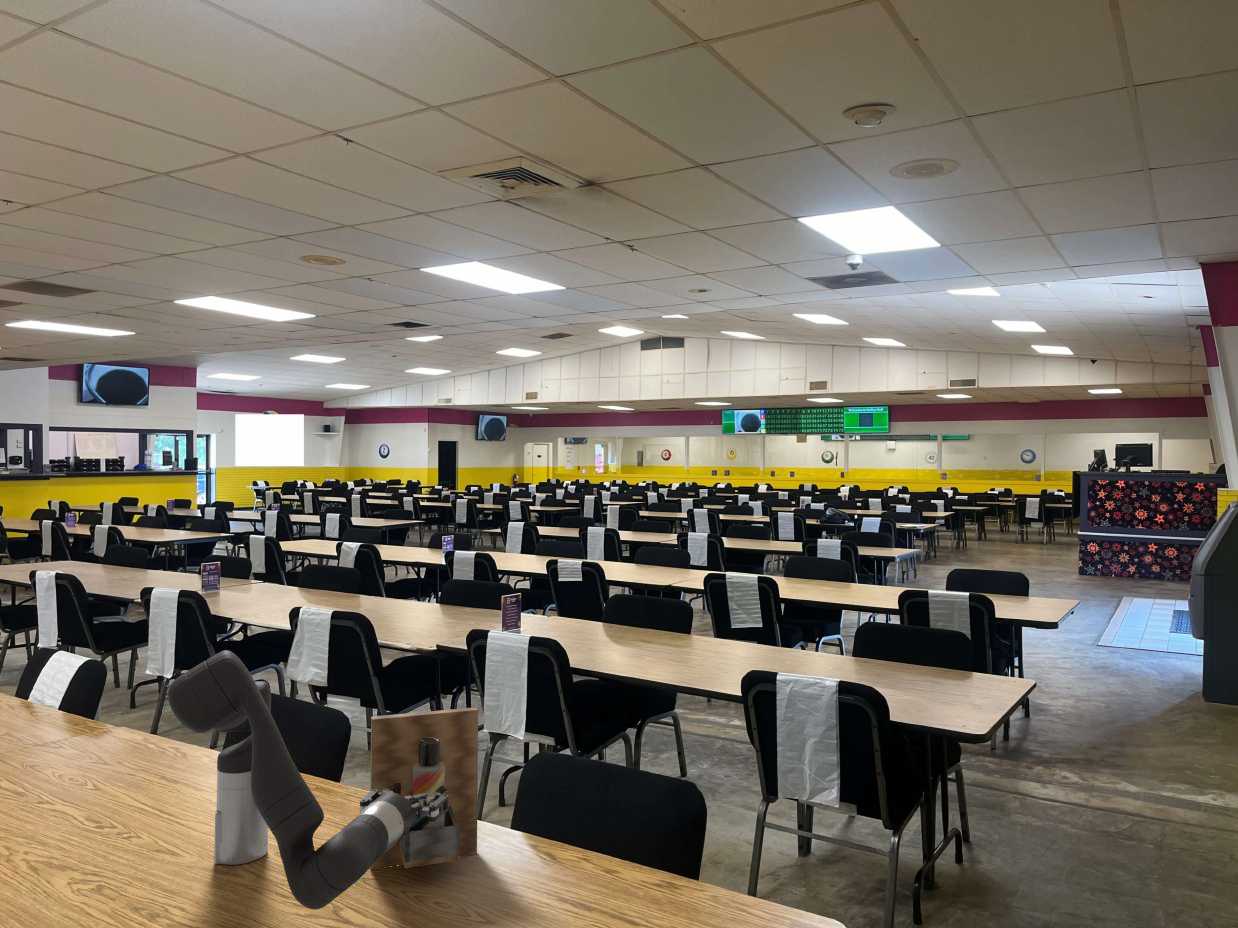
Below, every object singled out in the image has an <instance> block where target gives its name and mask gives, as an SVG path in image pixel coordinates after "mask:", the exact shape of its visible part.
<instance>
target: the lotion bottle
mask: <svg viewBox="0 0 1238 928" xmlns="http://www.w3.org/2000/svg"><path fill="white" fill-rule="evenodd" d="M439 758H440V741H439V740H438V739H436V738H422V739H421V741H420V742H419V763H417V764H416V765H415V766H414V768H413V796H414V795H418V794H421V793H426V794H432V793H434V792H435V791H436V790H437V789H438V788H439V787H440V786H445V766H444V763H442V762H439ZM419 802H420V803H421V805H422V799H421V800H419ZM430 803H433V799H430V801H429V805H430ZM440 827H444V814H443V815H442V816H441V817H439V818H438V819H437V820H436V821H434V822H430V821H429V816H422V817H421V818H419V819H416V820H414V822H413V831H418V830H426V829H433V828H440Z"/></svg>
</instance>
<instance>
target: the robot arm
mask: <svg viewBox="0 0 1238 928" xmlns="http://www.w3.org/2000/svg"><path fill="white" fill-rule="evenodd" d="M167 698H168V705H169V707H170V709H171V711H172V713H173V715H174V716H175V718H176V719H177V720H178V721H179V722H180V724H182V725H183V726H184V727H185V728H186V729H188V730H190V731H192V732H195V733H197V734H204V733H207V732H208V731H211V730H214V731H216V732H219V733H234V732H236V733H237V732H246V731H250V733H251V734H250V735H249V736H247V737H246V738H245V739H244V740H242V741H240V742H238V743H235V744H233V745H231V746H228V747H227V748H224V749H223V750H221V751H220V752H219V753H218V755H217V759H216V810H215V813H214V850H213V851H214V857H213V858H214V862H213V863H214V865H229V866H231V865H242V864H248V863H252V862H255V861H257V860H259V859H261V858H263V857H264V856H266V854H267V853H268V850H269V849H268V847H269V845H268V843H269V830H270V832H271V834H272V836H273V837H274V838H275V840H276V842H277V847H278V851H279V855H280V859H281V861H282V865H283V870H284V873H285V877H286V881H287V884H288V888H289V890H290V891H291V895H292V896H293V898H295V900H296V901H297V902H298V903H299V904H300V905H302V906H303V907H305V908H307V909H309V910H320V909H322V908H325V907H326V906H327V905H328V906H329V904H330V903H332V902H333V901H334V900H336V899H337V898H338V897H339V896H341V895H342V894H343V893H344V892H346V891H347V890H348V889H349V888H350V887H352V886H353V885H354V884H355V883H356V882H358V881H359V880H360V879H361V878H362V877H364V875H366V873H367V872H368V871H369V869H370V866H371V865H372V864H373V863H374V862H375V861H376V860H377V859H378V858H379V857H380V856H381V855H382V854H384V853H386V852H387V851H388V850H390V849H391V848H392V847H393V846H394V845H395V844H396V843H397V842H398V841H399V840H400V839H401V838H402V837H403V836H404V835H405V834H406V833H407V832H408V831H409V830H410V828H411V826H412V824H413V822H414V820H416V819H419V818H421V817H422V816H429V821H430V822H434V821H436V820H437V819H438V818H439V817H441V816H442V815H443V814H444V813H445V812H446V811H447V810H448V805H449V795H447V789H446V787H445V786H440V787H439V788H438V789H437V790H436V791H435V792H434V793H432V794H426V793H421V794H418V795H414V796H411V795H409V796H405V797H404V796H402V795H400V794H401V783H396V784H394V785H393V786H391V787H389V788H388V789H383V790H382V792H378V790H377V789H374V790H371V791H369V792H368V793H367V794H366V795H365V796H364V797H362V798H361V799H360V800H359V813H358V814H357V815H356V816H355V817H354V818H353V819H352V820H351V821H350V822H348V823H347V824H346V825H345V826H344V827H343V828H341V830H340V831H339V832H338V833H335V835H333V836H332V837H330V838H329V839H328V840H327V841H325V842H324V843H322V844H321V846H319V847H318V848H317V849H316V850H315V845H314V841H313V837H314V834H315V832H316V831H317V830H318V828H319V827H320V826H321V824H322V823H323V822H324V818H325V814H324V810H323V809H322V806H321V805H320V804H319V802H318V800H317V799H316V797H315V795H314V794H313V792H312V790H311V789H310V787H309V786H308V784H307V782H306V781H305V779H304V778H303V775H301V773H300V771H299V770H298V768H297V766H296V764H295V762H294V761H293V758H292V756H291V754H290V751H289V749H288V748H287V746H286V744H285V741H284V739H283V736H282V735H281V732H280V730H279V728H278V725H277V724H276V721H275V719H274V717H273V715H272V714H271V710H272V691H271V687H270V685H269V683H268V682H267V681H262V680H261V681H255V680H254V678H253V676H252V674H251V672H250V671H249V670H248V668H247V667H246V665H245V664H244V662H243V661H242V659H241V658H239V656H237V655H236V654H235V653H234V652H232V651H231V650H229V649H228V650H227V649H225V650H222V651H220V652H218V653H216V654H214V655H213V656H211V657H208V658H207V659H206V660H203V661H202V662H200V663H199V664H197V665H196V666H194V667H192V668H191V669H189V670H187V671H186V672H184V673H182V674H181V675H180V676H178V677H177V678H175V679H174V680H173V682H171V684H170V685H169V687H168V690H167ZM421 799H422V805H421V803H420V802H419V800H421ZM430 799H433V803H430V805H429V801H430Z"/></svg>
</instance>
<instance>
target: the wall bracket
mask: <svg viewBox="0 0 1238 928" xmlns="http://www.w3.org/2000/svg"><path fill="white" fill-rule="evenodd" d="M422 738H436V739H438V740H439V741H440V758H439V762H442V763H444V766H445V787H446V789H447V795H449V805H448V810H447V811H446V812H445V813H444V827H440V828H433V829H426V830H418V831H413V824H412V826H411V828H410V830H409V831H408V832H407V833H406V834H405V835H404V836H403V837H402V838H401V839H400V840H399V841H398V842H397V843H396V844H395V845H394V846H393V847H392V848H391V849H390V850H388V851H387V852H386V853H384V854H382V855H381V856H380V857H379V858H378V859H377V860H376V861H375V862H374V863H373V864H372V865H371V866H370V868H369V869H370V871H374V870H373V869H375V870H380V869H379V868H382V869H385V868H384V867H389V868H391V867H390V866H396V867H398V866H397V865H402V866H404V869H409V868H414V867H415V868H416V867H421V866H428V865H434V864H441V863H442V864H443V863H449V862H455V861H460V858H461V857H468V856H469V857H470V856H475V855H478V797H479V796H478V792H479V791H478V787H479V786H478V785H479V784H478V783H479V782H478V777H479V774H478V773H479V772H478V771H479V769H478V767H479V766H478V765H479V762H478V761H479V709H478V707H475V706H474V707H465V708H454V709H443V710H441V709H440V710H433V711H421V712H411V713H410V712H407V713H399V714H398V713H397V714H396V713H395V714H386V715H385V714H384V715H375V716H373V715H372V716H370V791H371V790H374V789H377V790H378V792H382V790H383V789H388V788H389V787H391V786H393V785H394V784H396V783H401V794H400V795H402V796H404V797H405V796H409V795H411V796H413V768H414V766H415V765H416V764H417V763H419V742H420V741H421V739H422ZM370 791H369V792H370Z"/></svg>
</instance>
